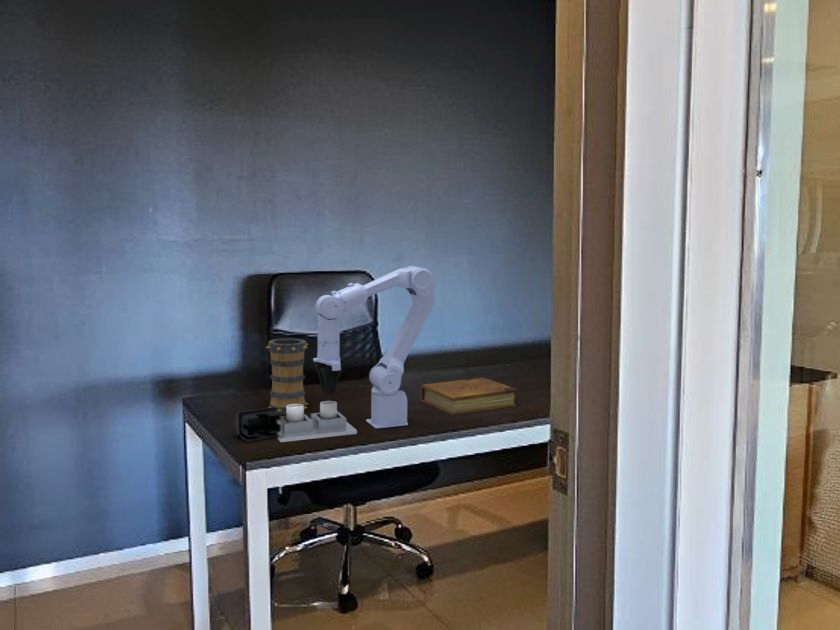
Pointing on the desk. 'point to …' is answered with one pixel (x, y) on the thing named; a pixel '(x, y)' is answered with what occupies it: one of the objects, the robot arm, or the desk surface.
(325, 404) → the knob
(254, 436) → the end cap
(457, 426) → the desk surface
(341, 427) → the mount
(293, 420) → the knob
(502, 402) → the diary
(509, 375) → the desk surface
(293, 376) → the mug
